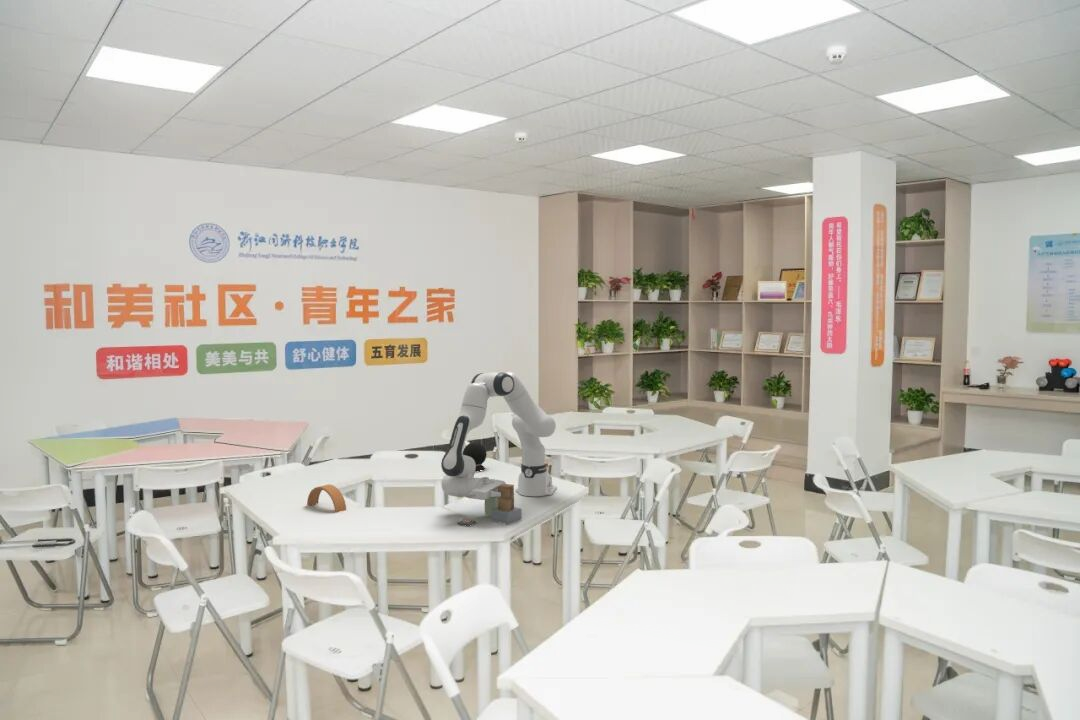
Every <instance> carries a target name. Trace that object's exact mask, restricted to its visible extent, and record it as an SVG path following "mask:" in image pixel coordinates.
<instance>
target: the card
mask: <svg viewBox="0 0 1080 720" xmlns="http://www.w3.org/2000/svg"><path fill="white" fill-rule="evenodd" d="M474 523H475V524H476V523H477V520H475V519H474V520H473V519H467V518H463V519H461V520H459V521H458V522H456V525H457V524H459V525H458V526H463V525H466V526H465V527H471V526H473V525H475V524H474ZM472 524H473V525H472ZM470 525H471V526H470Z"/></svg>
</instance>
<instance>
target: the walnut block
mask: <svg viewBox="0 0 1080 720" xmlns="http://www.w3.org/2000/svg"><path fill="white" fill-rule="evenodd" d="M498 491H499V492H502V496H500V497H498V510H502V511H510V510H512V509H514V507H515V485H514V484H509V483H506V484H502V485H500V486H498Z"/></svg>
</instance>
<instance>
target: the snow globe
mask: <svg viewBox="0 0 1080 720" xmlns="http://www.w3.org/2000/svg"><path fill="white" fill-rule="evenodd" d="M462 453H463V455H466V456H469V457H472V458H473V459H474V461H475V463H476V470H475V471H480V470H484V469H486V468H485V466H484V465H482V464H484V463H485V462H486V459H487V455H488V454H487V450H486V447H484V445H483V444H482V443H479V442H470V443H468V444H467V445H466V446H464V448H463V452H462ZM484 471H485V470H484ZM480 472H481V471H480Z"/></svg>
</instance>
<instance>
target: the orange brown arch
mask: <svg viewBox="0 0 1080 720" xmlns="http://www.w3.org/2000/svg"><path fill="white" fill-rule="evenodd" d="M339 489H340V488H338V487H336V486H335V485H333V484H325V485H321V486H317V487H314V488H313V489H311V490H310V492H309V494H308V496H307V501H306V506H307V505H309V506H313V505H312V504H314V505H317V504H319V499H320V496H321V493H322V491H324V492H325V493H326V494H327V495H328V496H329V498H330V499H331V501H332V504H333V507H334V513H335V512H336V514H337V513H340V511H341V512H344V511H347V506H346V501H345V497H344V495H343V493H342V492H341V491H340V490H339ZM316 503H317V504H316Z"/></svg>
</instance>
